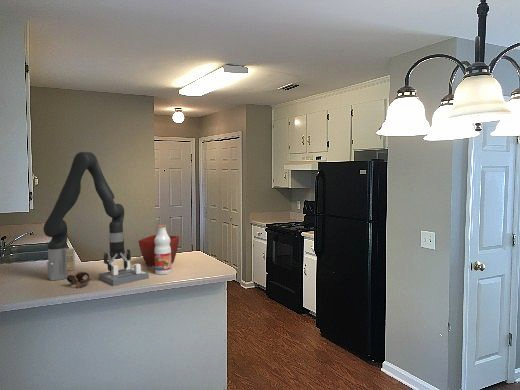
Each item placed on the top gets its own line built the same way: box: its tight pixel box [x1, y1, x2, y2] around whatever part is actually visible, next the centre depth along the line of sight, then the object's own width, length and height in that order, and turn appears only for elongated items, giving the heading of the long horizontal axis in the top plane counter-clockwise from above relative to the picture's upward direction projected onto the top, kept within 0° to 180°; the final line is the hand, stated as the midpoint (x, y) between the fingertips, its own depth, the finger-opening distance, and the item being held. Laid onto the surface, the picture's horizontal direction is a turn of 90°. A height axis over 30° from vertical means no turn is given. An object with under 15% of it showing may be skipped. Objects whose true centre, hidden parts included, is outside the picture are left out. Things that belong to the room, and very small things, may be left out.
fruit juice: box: [154, 224, 173, 276], centre depth 245 cm, size 9×9×28 cm
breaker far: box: [123, 260, 131, 270], centre depth 242 cm, size 2×3×5 cm
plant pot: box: [138, 234, 180, 268], centre depth 266 cm, size 19×19×17 cm
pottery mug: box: [66, 271, 92, 289], centre depth 221 cm, size 12×10×8 cm
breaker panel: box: [98, 266, 150, 287], centre depth 234 cm, size 20×19×3 cm
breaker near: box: [133, 263, 142, 274], centre depth 232 cm, size 2×3×5 cm
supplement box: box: [66, 247, 76, 272], centre depth 255 cm, size 8×5×13 cm, turn 105°
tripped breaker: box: [111, 264, 119, 275], centre depth 230 cm, size 2×3×5 cm
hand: (117, 269), depth 231 cm, fingers open, 8 cm apart
